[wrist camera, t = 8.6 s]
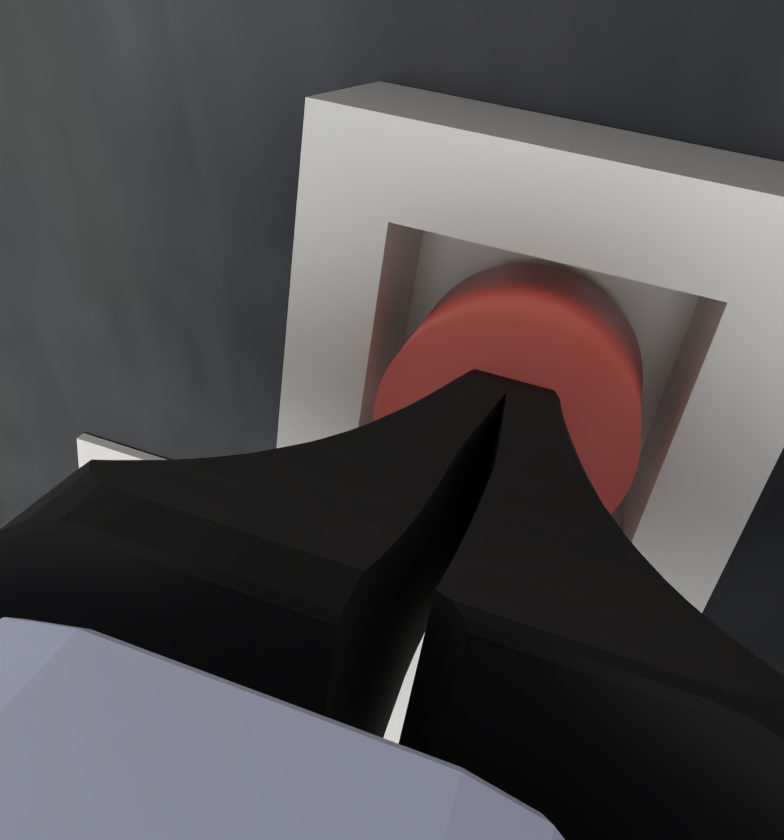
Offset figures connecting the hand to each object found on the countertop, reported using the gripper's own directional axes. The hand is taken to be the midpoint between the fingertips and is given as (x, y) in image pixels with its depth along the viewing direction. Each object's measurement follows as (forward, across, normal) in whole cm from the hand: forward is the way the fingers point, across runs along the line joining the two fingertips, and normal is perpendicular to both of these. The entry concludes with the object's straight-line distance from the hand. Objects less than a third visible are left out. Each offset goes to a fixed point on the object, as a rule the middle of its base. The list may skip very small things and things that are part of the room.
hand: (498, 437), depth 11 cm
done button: (+2, 0, 0) cm, 2 cm away
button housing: (+4, 0, 0) cm, 4 cm away
